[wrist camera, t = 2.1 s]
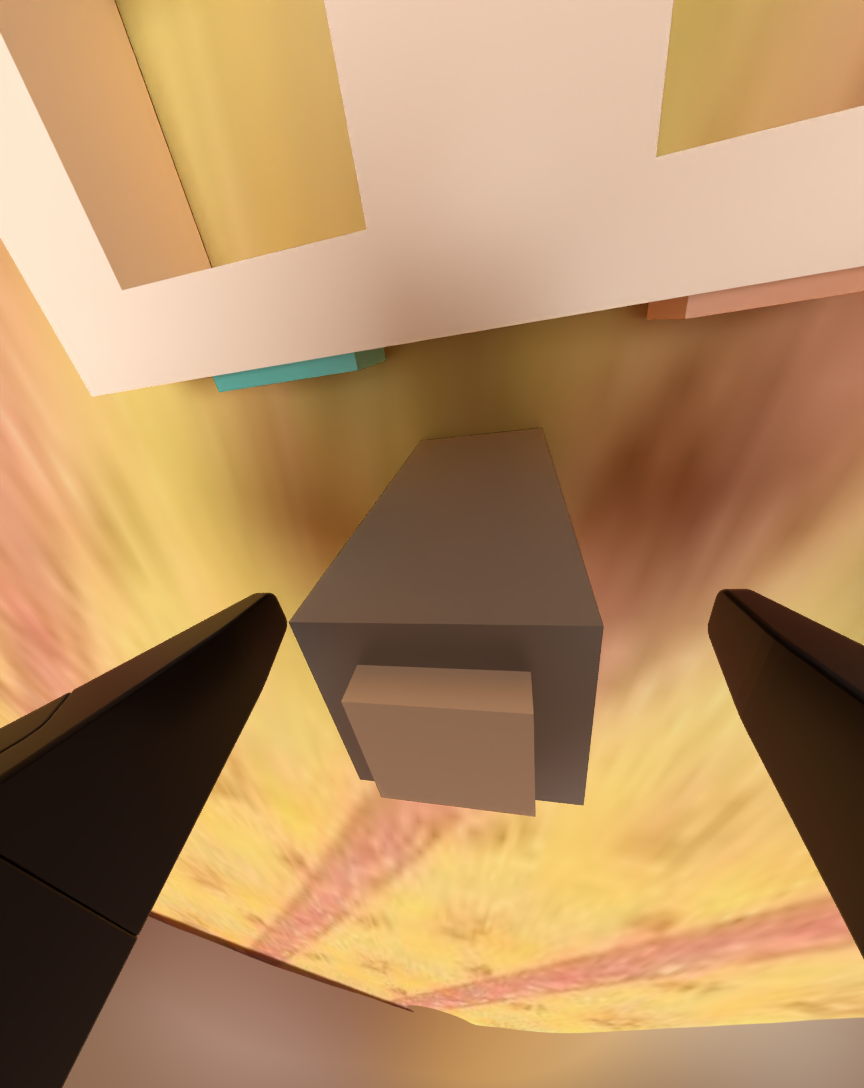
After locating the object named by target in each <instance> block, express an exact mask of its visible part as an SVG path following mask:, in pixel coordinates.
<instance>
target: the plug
mask: <svg viewBox="0 0 864 1088" xmlns="http://www.w3.org/2000/svg"><path fill="white" fill-rule="evenodd" d="M289 624H290V626H291V628H292V630H293V633H294V635H295V637H296V639H297V641H298V644H299V646H300V648H301V650H302V652H303V655H304V657H305V659H306V661H307V663H308V666H309V668H310V670H311V672H312V674H313V677H314V679H315V681H316V683H317V685H318V688H319V690H320V692H321V694H322V696H323V699H324V701H325V703H326V705H327V707H328V710H329V712H330V714H331V716H332V718H333V721H334V723H335V725H336V727H337V729H338V732H339V734H340V736H341V738H342V740H343V743H344V745H345V747H346V749H347V751H348V754H349V756H350V758H351V760H352V762H353V765H354V767H355V769H356V771H357V773H358V776H359V778H360V779H361V780H370V781H375V783H376V786H377V788H378V790H379V793H380V795H381V797H384V798H392V799H399V800H407V801H415V802H423V803H431V804H439V805H447V806H455V807H463V808H471V809H478V810H486V811H494V812H502V813H510V814H518V815H526V816H534V817H535V800H541V801H550V802H558V803H567V804H576V805H584V797H585V788H586V779H587V770H588V761H589V752H590V743H591V734H592V725H593V716H594V707H595V698H596V689H597V680H598V671H599V662H600V653H601V644H602V635H603V623H602V620H601V616H600V613H599V610H598V607H597V603H596V600H595V597H594V594H593V590H592V587H591V584H590V581H589V578H588V574H587V571H586V568H585V565H584V561H583V558H582V555H581V552H580V549H579V545H578V542H577V539H576V536H575V532H574V529H573V526H572V523H571V520H570V516H569V513H568V510H567V507H566V503H565V500H564V497H563V494H562V491H561V487H560V484H559V481H558V478H557V474H556V471H555V468H554V465H553V462H552V458H551V455H550V452H549V449H548V445H547V442H546V439H545V436H544V433H543V429H542V428H535V429H526V430H516V431H507V432H497V433H488V434H478V435H469V436H459V437H450V438H440V439H431V440H422V441H420V442H419V444H418V445H417V447H416V448H415V449H414V451H413V452H412V453H411V455H410V456H409V458H408V459H407V460H406V462H405V463H404V464H403V466H402V467H401V469H400V470H399V471H398V473H397V474H396V475H395V477H394V478H393V480H392V481H391V482H390V484H389V485H388V486H387V488H386V489H385V491H384V492H383V493H382V495H381V496H380V497H379V499H378V500H377V502H376V503H375V504H374V506H373V507H372V508H371V510H370V511H369V513H368V514H367V515H366V517H365V518H364V519H363V521H362V522H361V524H360V525H359V526H358V528H357V529H356V530H355V532H354V533H353V535H352V536H351V537H350V539H349V540H348V541H347V543H346V544H345V546H344V547H343V548H342V550H341V551H340V552H339V554H338V555H337V557H336V558H335V559H334V561H333V562H332V563H331V565H330V566H329V568H328V569H327V570H326V572H325V573H324V574H323V576H322V577H321V579H320V580H319V581H318V583H317V584H316V585H315V587H314V588H313V590H312V591H311V592H310V594H309V595H308V596H307V598H306V599H305V600H304V602H303V603H302V605H301V606H300V607H299V609H298V610H297V611H296V613H295V614H294V616H293V617H292V618H291V620H290V621H289Z"/></svg>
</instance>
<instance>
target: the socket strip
mask: <svg viewBox="0 0 864 1088" xmlns="http://www.w3.org/2000/svg"><path fill="white" fill-rule="evenodd" d="M673 1H674V0H324V3H325V9H326V14H327V19H328V25H329V30H330V36H331V41H332V46H333V52H334V57H335V63H336V68H337V74H338V79H339V84H340V90H341V95H342V101H343V106H344V111H345V117H346V122H347V128H348V133H349V138H350V144H351V149H352V155H353V160H354V165H355V171H356V176H357V182H358V187H359V192H360V198H361V203H362V209H363V214H364V220H365V225H366V230H362V231H358V232H354V233H350V234H346V235H342V236H338V237H334V238H330V239H326V240H322V241H318V242H314V243H310V244H306V245H302V246H298V247H294V248H290V249H286V250H282V251H278V252H274V253H270V254H266V255H262V256H258V257H254V258H250V259H246V260H242V261H238V262H234V263H230V264H226V265H222V266H218V267H214V268H211V265H210V262H209V260H208V257H207V254H206V251H205V249H204V246H203V243H202V240H201V238H200V235H199V232H198V229H197V227H196V224H195V221H194V218H193V216H192V213H191V210H190V207H189V205H188V202H187V199H186V196H185V194H184V191H183V188H182V185H181V183H180V180H179V177H178V174H177V171H176V169H175V166H174V163H173V160H172V158H171V155H170V152H169V149H168V147H167V144H166V141H165V138H164V136H163V133H162V130H161V127H160V125H159V122H158V119H157V116H156V114H155V111H154V108H153V105H152V103H151V100H150V97H149V94H148V92H147V89H146V86H145V83H144V81H143V78H142V75H141V72H140V70H139V67H138V64H137V61H136V58H135V56H134V53H133V50H132V47H131V45H130V42H129V39H128V36H127V34H126V31H125V28H124V25H123V23H122V20H121V17H120V14H119V12H118V9H117V6H116V3H115V1H114V0H0V238H1V239H2V241H3V243H4V245H5V246H6V248H7V250H8V252H9V253H10V255H11V257H12V259H13V260H14V262H15V264H16V265H17V267H18V269H19V271H20V272H21V274H22V276H23V278H24V279H25V281H26V283H27V285H28V286H29V288H30V290H31V292H32V293H33V295H34V297H35V299H36V300H37V302H38V304H39V305H40V307H41V309H42V311H43V312H44V314H45V316H46V318H47V319H48V321H49V323H50V325H51V326H52V328H53V330H54V332H55V333H56V335H57V337H58V338H59V340H60V342H61V344H62V345H63V347H64V349H65V351H66V352H67V354H68V356H69V358H70V359H71V361H72V363H73V365H74V366H75V368H76V370H77V372H78V373H79V375H80V377H81V378H82V380H83V382H84V384H85V385H86V387H87V389H88V391H89V392H90V394H91V396H92V397H93V396H99V395H104V394H110V393H116V392H122V391H128V390H134V389H140V388H146V387H152V386H158V385H164V384H169V383H175V382H181V381H187V380H193V379H199V378H205V377H211V376H213V379H214V381H215V384H216V386H217V389H218V391H219V392H223V391H230V390H236V389H243V388H249V387H255V386H262V385H268V384H275V383H281V382H287V381H294V380H300V379H306V378H313V377H319V376H326V375H332V374H338V373H345V372H351V371H357V370H361V369H364V368H367V367H370V366H373V365H376V364H379V363H382V362H385V361H386V359H385V353H384V348H383V347H388V346H394V345H400V344H406V343H412V342H417V341H423V340H429V339H435V338H441V337H447V336H453V335H459V334H465V333H471V332H476V331H482V330H488V329H494V328H500V327H506V326H512V325H518V324H524V323H530V322H536V321H541V320H547V319H553V318H559V317H565V316H571V315H577V314H583V313H589V312H595V311H601V310H606V309H612V308H618V307H624V306H630V305H636V304H642V303H648V302H649V304H648V312H647V319H689V318H696V317H702V316H708V315H715V314H721V313H728V312H734V311H740V310H747V309H753V308H759V307H766V306H772V305H779V304H785V303H791V302H798V301H804V300H810V299H817V298H823V297H830V296H836V295H842V294H849V293H855V292H862V291H864V105H863V106H859V107H855V108H851V109H847V110H843V111H839V112H835V113H831V114H827V115H823V116H819V117H815V118H811V119H807V120H803V121H799V122H795V123H791V124H787V125H783V126H779V127H775V128H771V129H767V130H763V131H759V132H755V133H751V134H747V135H743V136H739V137H735V138H731V139H727V140H723V141H719V142H715V143H711V144H707V145H703V146H699V147H695V148H691V149H687V150H683V151H679V152H675V153H671V154H667V155H663V156H659V157H656V153H657V144H658V135H659V126H660V117H661V108H662V99H663V90H664V81H665V73H666V64H667V55H668V46H669V37H670V28H671V19H672V10H673Z"/></svg>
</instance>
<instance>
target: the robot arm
mask: <svg viewBox="0 0 864 1088" xmlns="http://www.w3.org/2000/svg"><path fill="white" fill-rule="evenodd" d="M286 628H287V620H286V617H285V615H284V613H283V610H282V608H281V606H280V604H279V602H278V600H277V598H276V596H275V595H274V594H272V593H255V594H253V595H251V596H249V597H247V598H245V599H243V600H241V601H239V602H238V603H236V604H234V605H232V606H230V607H228V608H226V609H224V610H223V611H221V612H219V613H217V614H215V615H213V616H211V617H209V618H208V619H206V620H204V621H202V622H200V623H198V624H196V625H194V626H193V627H191V628H189V629H187V630H185V631H183V632H181V633H179V634H178V635H176V636H174V637H172V638H170V639H168V640H166V641H164V642H163V643H161V644H159V645H157V646H155V647H153V648H151V649H149V650H148V651H146V652H144V653H142V654H140V655H138V656H136V657H134V658H133V659H131V660H129V661H127V662H125V663H123V664H121V665H119V666H118V667H116V668H114V669H112V670H110V671H108V672H106V673H104V674H103V675H101V676H99V677H97V678H95V679H93V680H91V681H89V682H88V683H86V684H84V685H82V686H80V687H78V688H76V689H74V690H73V691H72V693H67V694H65V695H63V696H61V697H59V698H57V699H56V700H54V701H52V702H50V703H48V704H46V705H44V706H42V707H40V708H39V709H37V710H35V711H33V712H31V713H29V714H27V715H25V716H23V717H21V718H19V719H17V720H16V721H14V722H12V723H10V724H8V725H6V726H4V727H2V728H0V1088H62V1087H63V1085H64V1083H65V1081H66V1079H67V1077H68V1075H69V1073H70V1072H71V1070H72V1067H73V1066H74V1063H75V1062H76V1060H77V1057H78V1056H79V1054H80V1052H81V1050H82V1048H83V1046H84V1044H85V1042H86V1040H87V1038H88V1036H89V1034H90V1032H91V1030H92V1028H93V1026H94V1024H95V1022H96V1020H97V1018H98V1016H99V1014H100V1012H101V1010H102V1008H103V1006H104V1004H105V1002H106V1000H107V998H108V996H109V994H110V992H111V990H112V988H113V986H114V984H115V982H116V980H117V978H118V976H119V974H120V972H121V970H122V968H123V966H124V964H125V962H126V960H127V958H128V956H129V954H130V952H131V950H132V948H133V946H134V944H135V942H136V940H137V938H138V937H137V935H139V933H140V932H141V930H142V928H143V925H144V924H145V922H146V920H147V918H148V916H149V914H150V912H151V910H152V908H153V906H154V904H155V902H156V900H157V898H158V896H159V894H160V892H161V890H162V888H163V886H164V884H165V882H166V880H167V878H168V876H169V874H170V872H171V870H172V868H173V866H174V864H175V862H176V860H177V858H178V856H179V854H180V853H181V851H182V849H183V847H184V845H185V843H186V841H187V839H188V837H189V835H190V833H191V831H192V829H193V827H194V825H195V823H196V821H197V819H198V817H199V815H200V813H201V811H202V809H203V807H204V805H205V803H206V801H207V799H208V797H209V795H210V793H211V791H212V789H213V787H214V785H215V783H216V781H217V779H218V777H219V775H220V773H221V771H222V769H223V767H224V765H225V763H226V761H227V759H228V757H229V755H230V753H231V751H232V749H233V747H234V745H235V743H236V742H237V740H238V738H239V736H240V734H241V732H242V730H243V728H244V726H245V724H246V722H247V720H248V718H249V716H250V714H251V712H252V710H253V708H254V706H255V704H256V702H257V700H258V698H259V696H260V694H261V692H262V689H263V687H264V685H265V682H266V680H267V677H268V675H269V672H270V670H271V667H272V665H273V662H274V660H275V657H276V654H277V652H278V649H279V647H280V644H281V642H282V639H283V637H284V634H285V632H286ZM708 634H709V638H710V640H711V643H712V646H713V648H714V651H715V654H716V656H717V659H718V662H719V664H720V667H721V669H722V672H723V675H724V677H725V680H726V683H727V685H728V688H729V691H730V693H731V696H732V699H733V701H734V704H735V706H736V709H737V711H738V714H739V716H740V718H741V720H742V722H743V724H744V727H745V729H746V731H747V733H748V735H749V737H750V739H751V741H752V742H753V744H754V746H755V748H756V750H757V752H758V754H759V756H760V758H761V760H762V762H763V764H764V766H765V768H766V770H767V772H768V774H769V776H770V777H771V779H772V781H773V783H774V785H775V787H776V789H777V791H778V793H779V795H780V797H781V799H782V801H783V803H784V805H785V807H786V809H787V811H788V813H789V814H790V816H791V818H792V820H793V822H794V824H795V826H796V828H797V830H798V832H799V834H800V836H801V838H802V840H803V842H804V844H805V846H806V848H807V849H808V851H809V853H810V855H811V857H812V859H813V861H814V863H815V865H816V867H817V869H818V871H819V873H820V875H821V877H822V879H823V881H824V883H825V885H826V886H827V888H828V890H829V892H830V894H831V896H832V898H833V900H834V902H835V904H836V906H837V908H838V910H839V912H840V914H841V916H842V918H843V920H844V921H845V923H846V925H847V927H848V929H849V931H850V933H851V935H852V937H853V939H854V941H855V943H856V945H857V947H858V949H859V951H860V953H861V955H862V957H863V958H864V646H863V645H861V644H859V643H857V642H855V641H853V640H851V639H849V638H847V637H845V636H843V635H841V634H839V633H837V632H835V631H833V630H831V629H829V628H827V627H825V626H823V625H821V624H819V623H817V622H815V621H813V620H811V619H809V618H807V617H805V616H803V615H801V614H799V613H797V612H795V611H793V610H791V609H789V608H787V607H785V606H783V605H781V604H779V603H776V602H774V601H772V600H770V599H768V598H766V597H764V596H762V595H760V594H758V593H756V592H754V591H752V590H749V589H723V590H721V591H719V593H718V594H717V596H716V599H715V602H714V606H713V609H712V612H711V616H710V619H709V623H708Z"/></svg>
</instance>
